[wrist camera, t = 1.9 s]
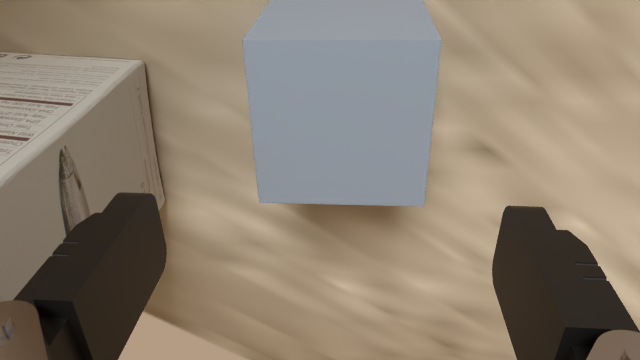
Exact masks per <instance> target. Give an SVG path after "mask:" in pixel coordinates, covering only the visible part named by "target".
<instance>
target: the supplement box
mask: <svg viewBox="0 0 640 360" xmlns="http://www.w3.org/2000/svg"><path fill="white" fill-rule="evenodd" d="M119 192H127V193H151V194H153V195H154V196H155V198H156V201H157V205H158V210H159V211H160V209H161V208H162V206H163V204H164V203H165V198H164V193H163V188H162V184H161V179H160V174H159V168H158V162H157V157H156V151H155V144H154V137H153V130H152V123H151V115H150V108H149V101H148V93H147V84H146V74H145V64H144V62H143V61H141V60H125V59H110V58H95V57H75V56H60V55H43V54H28V53H7V52H0V302H3V301H10V300H13V299H14V298H15V297H16V296H17V294H18V293H19V292H20V291H21V290H22V289H23V287H24V286H25V285H26V284H27V283H28V281H29V280H30V279H31V278H32V277H33V275H34V274H35V273H36V272H37V271H38V269H39V268H40V267H41V266H42V265H43V264H44V262H45V261H46V260H47V259H48V258H49V256H52V253H53V252H54V250H55V249H56V248H57V247H58V246H59V244H63V240H64V239H65V237H66V236H67V235H68V234H69V233H70V231H71V230H72V229H73V228H74V227H75V225H77V224H78V223H80V222H81V221H83V220H85V219H86V218H88V217H89V216H91V215H92V214H94V213H102V211H103V210H104V209H105V208H106V206H107V205H108V204H109V203H110V201H111V200H112V199H113V198H114V196H115V195H116V194H117V193H119Z"/></svg>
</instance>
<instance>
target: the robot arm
mask: <svg viewBox="0 0 640 360" xmlns="http://www.w3.org/2000/svg"><path fill="white" fill-rule="evenodd" d="M165 263H166V244H165V239H164V234H163V229H162V224H161V220H160V215H159V210H158V205H157V201H156V198H155V196H154V195H153V194H151V193H127V192H119V193H117V194H116V195H115V196H114V198H113V199H112V200H111V201H110V203H109V204H108V205H107V206H106V208H105V209H104V210H103V211H102V213H94V214H92V215H91V216H89V217H88V218H86V219H85V220H83V221H81V222H80V223H78V224H77V225H75V227H74V228H73V229H72V230H71V231H70V233H69V234H68V235H67V236H66V237H65V239H64V240H63V244H59V246H58V247H57V248H56V249H55V250H54V252H53V253H52V256H49V258H48V259H47V260H46V261H45V262H44V264H43V265H42V266H41V267H40V268H39V269H38V271H37V272H36V273H35V274H34V275H33V277H32V278H31V279H30V280H29V281H28V283H27V284H26V285H25V286H24V287H23V289H22V290H21V291H20V292H19V293H18V294H17V296H16V297H15V298H14V299H13V300H10V301H3V302H0V360H118V358H119V356H120V354H121V352H122V350H123V348H124V346H125V345H126V343H127V341H128V339H129V337H130V335H131V333H132V331H133V329H134V327H135V325H136V323H137V321H138V319H139V317H140V315H141V314H142V312H143V310H144V308H145V306H146V304H147V302H148V300H149V298H150V296H151V294H152V292H153V290H154V288H155V286H156V284H157V283H158V281H159V279H160V277H161V275H162V273H163V270H164V267H165ZM492 276H493V284H494V289H495V292H496V295H497V298H498V301H499V304H500V307H501V311H502V314H503V317H504V320H505V323H506V326H507V329H508V333H509V336H510V339H511V342H512V345H513V348H514V351H515V354H516V358H517V360H640V331H639V330H638V328H637V326H636V325H635V323H634V321H633V320H632V318H631V316H630V315H629V313H628V312H627V310H626V308H625V307H624V305H623V303H622V302H621V300H620V299H619V297H618V295H617V294H616V292H615V290H614V289H613V287H612V285H611V284H610V282H609V281H607V280H606V278H607V277H606V276H605V274H604V272H603V271H602V269H601V267H600V266H598V263H597V261H596V259H595V258H594V256H593V254H592V253H591V251H590V250H589V248H588V246H587V245H586V244H584V243H583V242H582V241H581V240H579V239H578V238H577V237H576V236H574V235H573V234H572V233H571V232H569V231H568V230H556V228H555V226H554V224H553V223H552V221H551V219H550V217H549V215H548V213H547V212H546V210H545V209H544V208H543V207H528V206H507V207H506V208H505V210H504V212H503V216H502V221H501V225H500V230H499V235H498V240H497V244H496V249H495V254H494V258H493V266H492Z"/></svg>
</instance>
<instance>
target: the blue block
mask: <svg viewBox="0 0 640 360" xmlns="http://www.w3.org/2000/svg"><path fill="white" fill-rule="evenodd" d="M242 41H243V51H244V61H245V71H246V80H247V90H248V100H249V110H250V119H251V129H252V139H253V149H254V158H255V168H256V178H257V187H258V197H259V203H293V204H336V205H380V206H424V202H425V192H426V183H427V173H428V163H429V154H430V144H431V135H432V125H433V116H434V106H435V97H436V87H437V78H438V68H439V58H440V49H441V38H440V36H439V34H438V32H437V29H436V27H435V25H434V23H433V21H432V19H431V16H430V14H429V12H428V10H427V8H426V6H425V3H424V1H423V0H270V2H269V3H268V5H267V6H266V8H265V9H264V10H263V12H262V13H261V15H260V16H259V17H258V19H257V20H256V22H255V23H254V25H253V26H252V27H251V29H250V30H249V32H248V33H247V34H246V36H245V37H244V39H243V40H242Z"/></svg>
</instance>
